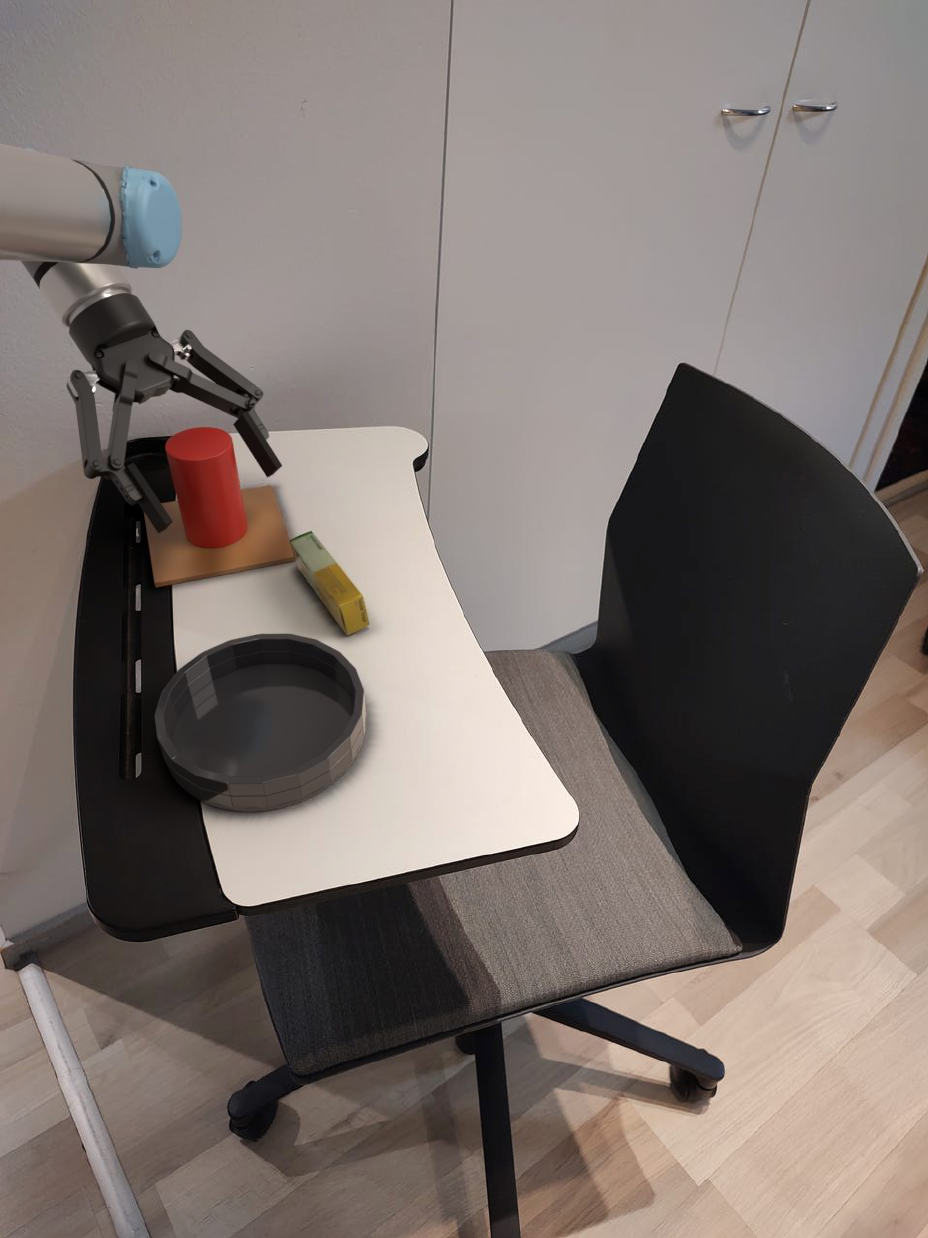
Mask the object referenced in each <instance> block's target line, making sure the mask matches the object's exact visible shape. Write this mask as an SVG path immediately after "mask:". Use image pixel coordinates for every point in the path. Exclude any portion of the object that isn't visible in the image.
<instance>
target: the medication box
mask: <svg viewBox="0 0 928 1238" xmlns="http://www.w3.org/2000/svg"><path fill="white" fill-rule="evenodd" d="M290 544H291V547H292V551H293V554H294V557H295V560H296V561H295V563H296V567H297V569H298V570H299V572H300V573H301V574H302V576H303V577H304V578H305V580H306V581H307V583H308V584H309V586H310V587H311V589H313V591H314V593H315V594H316V596H318V598H319V599H320V600H321V602H322V604H323V605H324V606H325V608H326V609H327V611H328V612H329V613H330V615H331V616H332V618H333V619H334V620H335V622H336V623H337V624H338V625H339V627H340V628H341V630H342V631H343V632H344V634H345V635H346V636H349V635H351V634H354V633H357V632H359V631H360V630H363V629H364V628H366V627H368V626H370V625H371V624H370V620H369V614H368V610H367V607H366V606H367V605H366V603H365V602H366V601H365V597H364V595H363V593H361V591H360V590H359V588H358V587H357V585H356V584H355V583H354V582H353V581H352V580H351V578H350V577H349V576H348V575H347V573H346V572H345V571H344V569H342V567H341V565H340V564H339V563H338V562H337V561H336V560H335V558H334V557H333V556H332V555H331V553H330V552H329V551H328V550H327V547H325V546H324V544H323V543H322V542H321V541H320V539H319V538H318V537H317V535H316V534H315V533H314V532H313V530H309V531H307V532H304V533H302V534H300V535H297V536H295V537H293V538H291V539H290Z"/></svg>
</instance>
